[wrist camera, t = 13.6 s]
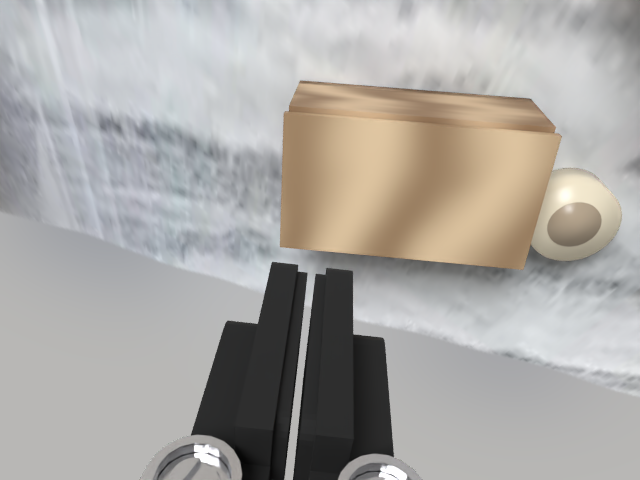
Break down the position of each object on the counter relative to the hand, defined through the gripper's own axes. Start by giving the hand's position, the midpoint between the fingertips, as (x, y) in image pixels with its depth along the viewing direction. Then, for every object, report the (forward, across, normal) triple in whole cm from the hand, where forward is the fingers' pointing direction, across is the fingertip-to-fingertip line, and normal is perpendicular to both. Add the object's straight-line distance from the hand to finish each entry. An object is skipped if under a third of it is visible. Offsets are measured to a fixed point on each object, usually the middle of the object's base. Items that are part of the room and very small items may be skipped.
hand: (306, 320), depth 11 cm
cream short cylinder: (+23, -16, +8) cm, 29 cm away
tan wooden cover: (+18, -5, +5) cm, 19 cm away
